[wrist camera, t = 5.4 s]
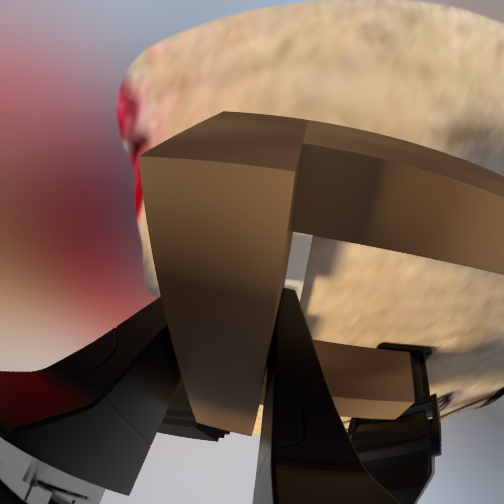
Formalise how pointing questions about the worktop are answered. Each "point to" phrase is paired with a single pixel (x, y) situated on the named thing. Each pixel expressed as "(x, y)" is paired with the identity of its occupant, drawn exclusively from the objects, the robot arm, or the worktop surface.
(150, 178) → the wooden c-shaped bracket
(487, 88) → the worktop surface
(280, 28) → the worktop surface
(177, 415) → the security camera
